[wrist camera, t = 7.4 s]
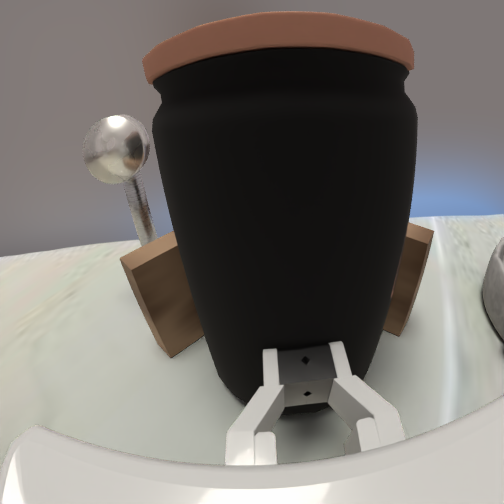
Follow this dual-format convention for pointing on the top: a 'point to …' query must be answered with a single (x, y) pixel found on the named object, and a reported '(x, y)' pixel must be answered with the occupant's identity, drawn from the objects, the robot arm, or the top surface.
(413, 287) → the wooden l-shaped bracket
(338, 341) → the robot arm
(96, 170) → the metal ball stand
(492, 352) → the top surface
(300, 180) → the coffee jar
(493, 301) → the dish
